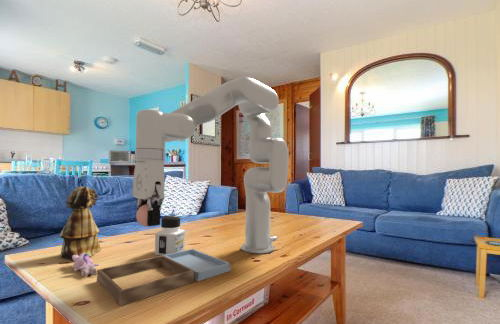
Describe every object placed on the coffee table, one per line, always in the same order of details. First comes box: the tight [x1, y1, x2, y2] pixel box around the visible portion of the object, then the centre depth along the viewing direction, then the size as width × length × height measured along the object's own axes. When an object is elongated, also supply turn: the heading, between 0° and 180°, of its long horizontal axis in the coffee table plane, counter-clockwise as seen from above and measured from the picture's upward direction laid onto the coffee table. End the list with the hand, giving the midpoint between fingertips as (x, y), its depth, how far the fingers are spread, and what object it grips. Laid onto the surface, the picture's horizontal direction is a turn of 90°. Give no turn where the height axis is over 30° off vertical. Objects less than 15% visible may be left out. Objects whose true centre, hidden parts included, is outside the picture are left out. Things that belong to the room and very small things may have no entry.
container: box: [154, 215, 186, 256], centre depth 95 cm, size 8×8×13 cm
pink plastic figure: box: [71, 253, 100, 280], centre depth 76 cm, size 6×6×15 cm
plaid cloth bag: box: [58, 185, 102, 261], centre depth 91 cm, size 14×14×25 cm
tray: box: [164, 248, 231, 282], centre depth 81 cm, size 11×20×2 cm, turn 45°
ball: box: [135, 204, 150, 228], centre depth 70 cm, size 6×6×6 cm
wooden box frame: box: [96, 255, 195, 306], centre depth 69 cm, size 18×17×3 cm
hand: (148, 222), depth 70 cm, fingers closed on ball, 5 cm apart
